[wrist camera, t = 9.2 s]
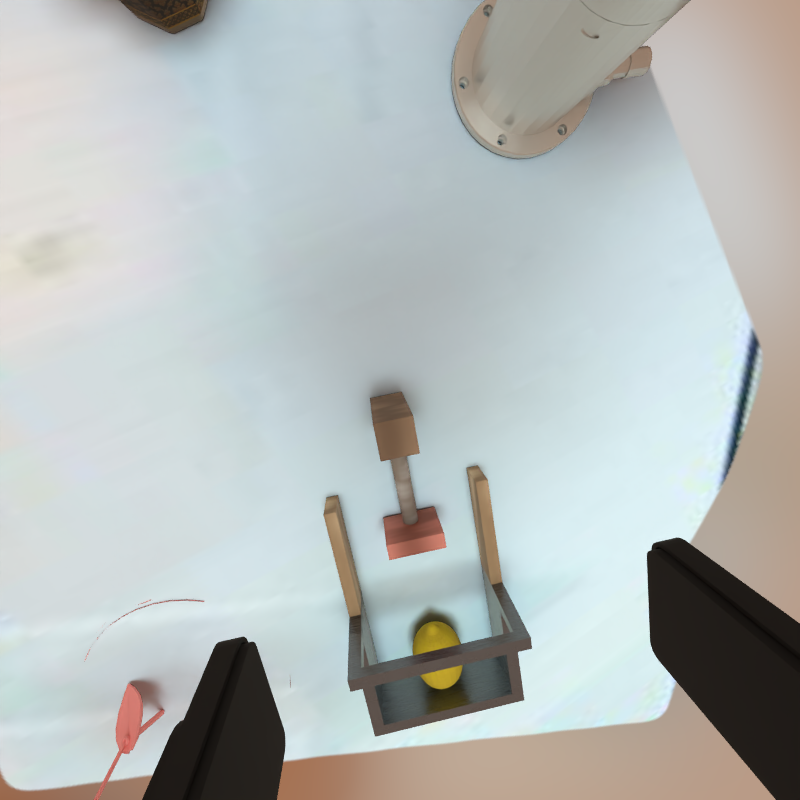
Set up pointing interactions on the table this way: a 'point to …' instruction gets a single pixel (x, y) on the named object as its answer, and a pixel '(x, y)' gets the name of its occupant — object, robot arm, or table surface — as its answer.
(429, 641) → the lemon
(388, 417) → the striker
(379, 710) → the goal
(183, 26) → the ceramic cup
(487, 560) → the lane
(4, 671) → the table surface
